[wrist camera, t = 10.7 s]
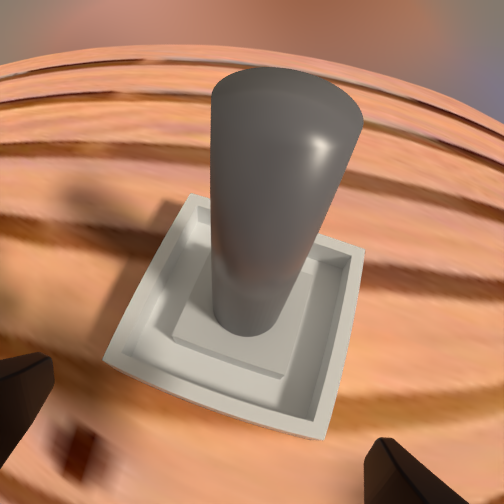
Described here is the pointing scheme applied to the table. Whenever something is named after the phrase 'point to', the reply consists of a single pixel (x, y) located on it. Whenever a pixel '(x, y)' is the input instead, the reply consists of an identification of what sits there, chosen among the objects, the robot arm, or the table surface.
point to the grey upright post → (266, 211)
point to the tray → (228, 375)
